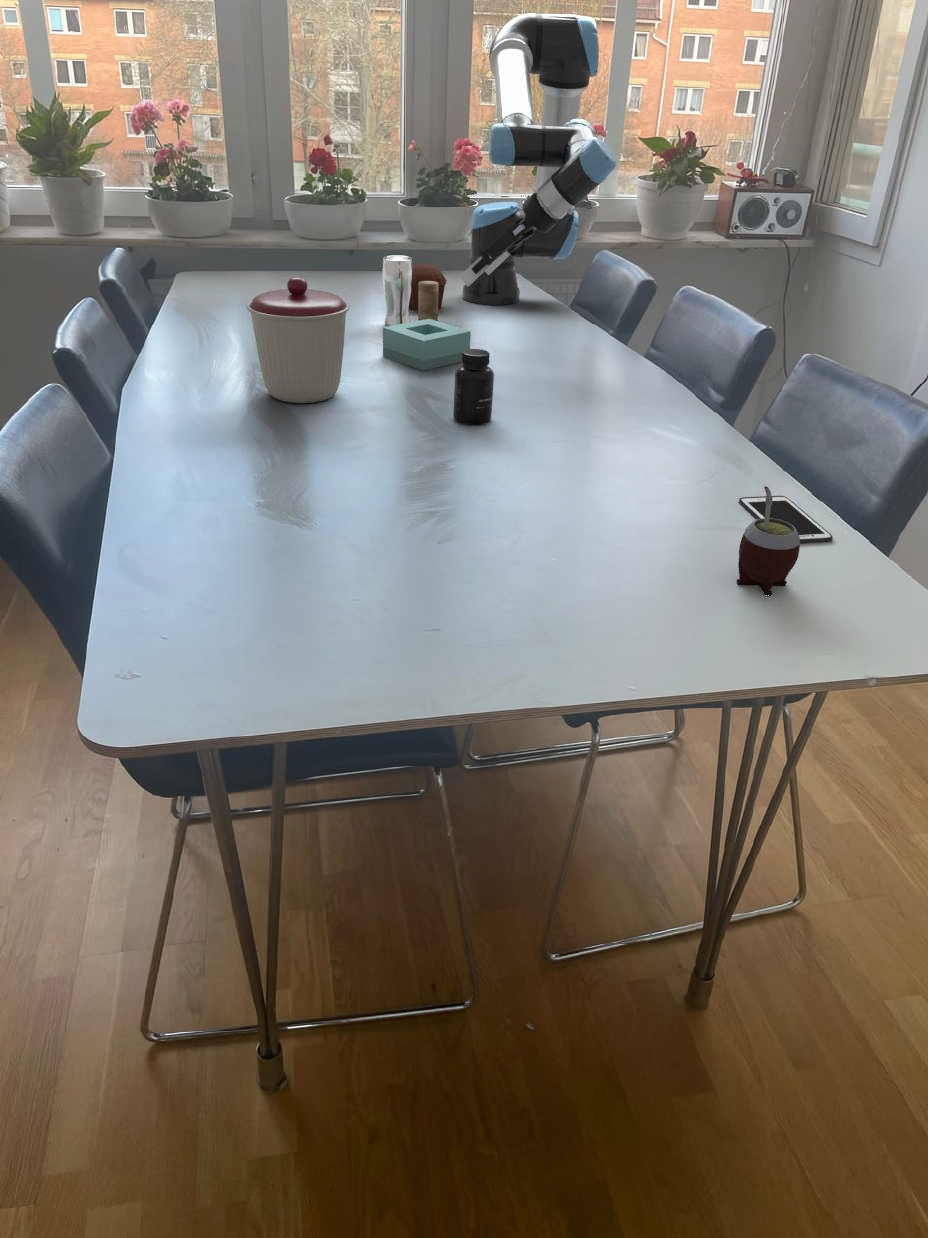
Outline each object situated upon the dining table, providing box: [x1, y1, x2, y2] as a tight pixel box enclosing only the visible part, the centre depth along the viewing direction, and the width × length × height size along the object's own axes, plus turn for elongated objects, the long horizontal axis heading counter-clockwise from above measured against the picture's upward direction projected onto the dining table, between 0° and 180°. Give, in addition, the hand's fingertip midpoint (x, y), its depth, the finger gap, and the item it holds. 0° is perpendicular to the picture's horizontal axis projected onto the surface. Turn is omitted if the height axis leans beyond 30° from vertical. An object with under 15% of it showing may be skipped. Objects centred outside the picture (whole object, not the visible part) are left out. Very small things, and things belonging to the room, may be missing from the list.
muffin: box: [409, 263, 448, 312], centre depth 237 cm, size 12×11×10 cm
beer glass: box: [382, 254, 413, 327], centre depth 219 cm, size 7×7×15 cm
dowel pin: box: [417, 281, 439, 321], centre depth 211 cm, size 4×4×12 cm
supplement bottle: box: [452, 348, 495, 426], centre depth 165 cm, size 7×7×12 cm
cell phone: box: [738, 495, 834, 545], centre depth 136 cm, size 8×15×1 cm, turn 11°
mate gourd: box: [736, 485, 801, 597], centre depth 115 cm, size 8×8×15 cm
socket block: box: [382, 319, 472, 372], centre depth 198 cm, size 13×13×6 cm
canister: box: [245, 276, 351, 404], centre depth 170 cm, size 18×18×21 cm
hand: (474, 275), depth 203 cm, fingers open, 13 cm apart
